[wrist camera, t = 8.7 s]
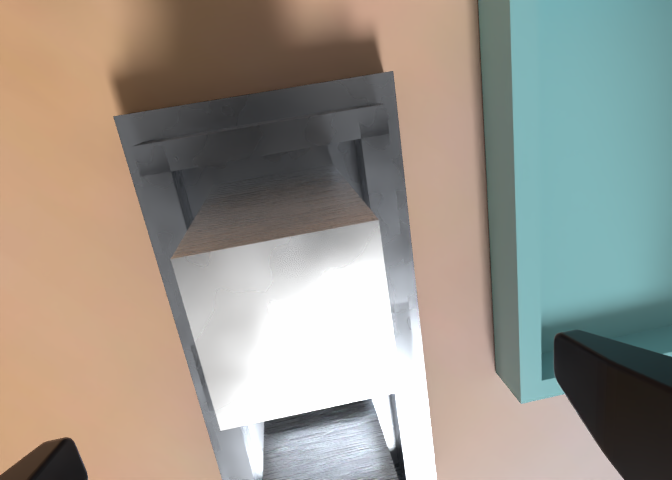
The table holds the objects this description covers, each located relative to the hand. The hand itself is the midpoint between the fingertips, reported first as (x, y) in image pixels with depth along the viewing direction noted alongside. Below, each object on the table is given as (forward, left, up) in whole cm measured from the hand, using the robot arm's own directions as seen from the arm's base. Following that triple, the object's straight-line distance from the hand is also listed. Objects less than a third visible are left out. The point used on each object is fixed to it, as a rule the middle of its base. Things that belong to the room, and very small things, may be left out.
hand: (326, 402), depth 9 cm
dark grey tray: (-4, 0, -12) cm, 13 cm away
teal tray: (0, -18, -12) cm, 21 cm away
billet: (0, 0, -10) cm, 10 cm away
